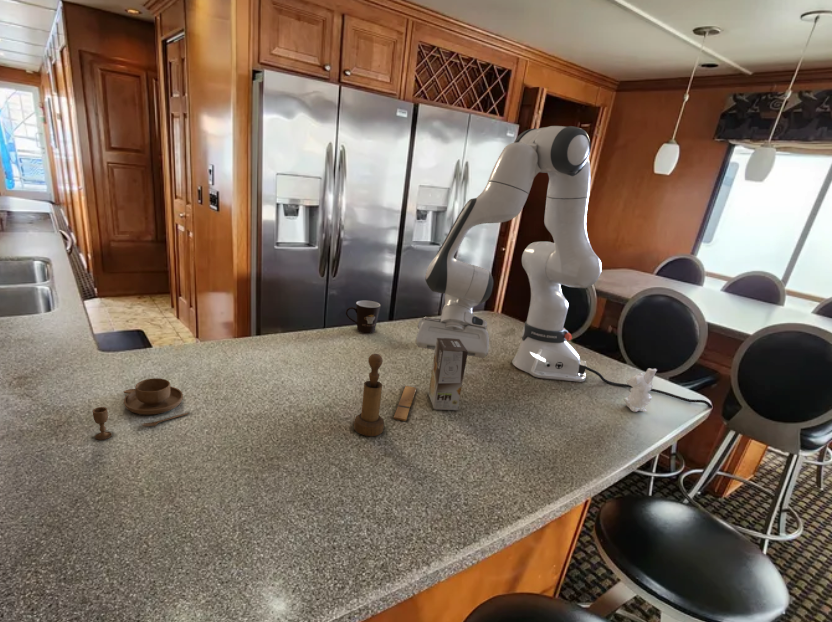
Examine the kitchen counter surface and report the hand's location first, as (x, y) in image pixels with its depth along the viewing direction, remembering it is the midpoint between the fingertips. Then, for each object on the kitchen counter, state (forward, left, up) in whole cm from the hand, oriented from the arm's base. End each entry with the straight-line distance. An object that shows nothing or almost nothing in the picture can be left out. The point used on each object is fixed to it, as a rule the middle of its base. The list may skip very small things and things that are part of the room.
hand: (448, 365), depth 125 cm
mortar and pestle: (+15, +30, -6) cm, 34 cm away
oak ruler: (+9, +14, -6) cm, 18 cm away
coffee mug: (+33, -35, -6) cm, 49 cm away
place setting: (+65, +41, -6) cm, 77 cm away
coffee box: (0, +10, -6) cm, 12 cm away
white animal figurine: (-52, -7, -6) cm, 53 cm away
